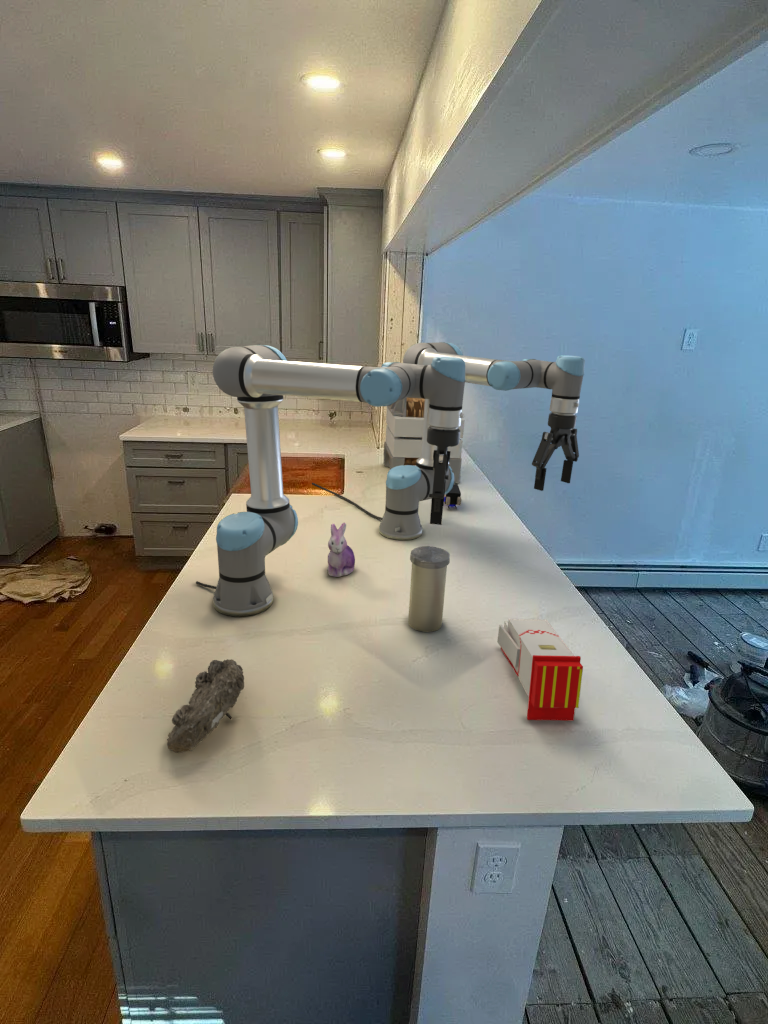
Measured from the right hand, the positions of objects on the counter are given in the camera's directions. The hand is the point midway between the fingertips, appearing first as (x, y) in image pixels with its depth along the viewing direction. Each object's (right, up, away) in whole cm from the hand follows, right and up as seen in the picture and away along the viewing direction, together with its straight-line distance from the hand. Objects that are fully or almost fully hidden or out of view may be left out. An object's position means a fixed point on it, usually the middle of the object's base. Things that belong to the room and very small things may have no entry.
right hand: (552, 485), depth 166 cm
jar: (-39, -36, -22) cm, 57 cm away
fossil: (-82, -47, -57) cm, 110 cm away
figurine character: (-22, -5, +66) cm, 70 cm away
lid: (-38, -18, -28) cm, 51 cm away
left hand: (-36, -8, -29) cm, 47 cm away
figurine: (-62, -25, +4) cm, 67 cm away
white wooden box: (-32, +11, +109) cm, 115 cm away
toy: (-17, -44, -42) cm, 63 cm away
